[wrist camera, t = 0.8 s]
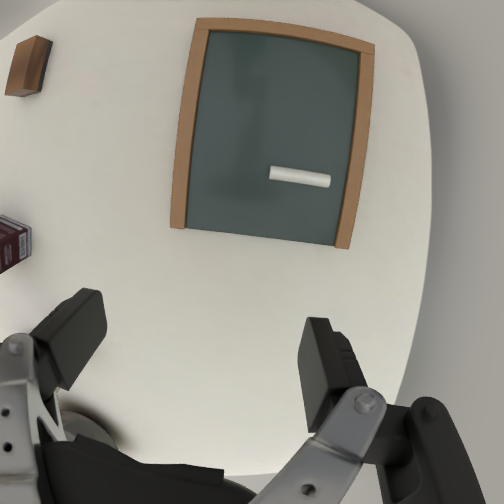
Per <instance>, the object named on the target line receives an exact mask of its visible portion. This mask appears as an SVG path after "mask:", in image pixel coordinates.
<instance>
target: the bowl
mask: <svg viewBox="0 0 504 504" xmlns="http://www.w3.org/2000/svg"><path fill="white" fill-rule="evenodd" d="M60 416H61V421H62V426H63V430H64V434H65V436H66V439H67V441H74V439H75V437H76V435H77V433H79V434H81V435H84V436H86V437H89V438H91V439H94V440H97V441H99V442H102V443H105V444H108V445H110V446H111V447H113V448H115V449H117V450H118V448H117V446H116V444H115V442H114V441H113V439H112V438H111V437H110V436H109V435H108V433H107V432H106V431H105V430H104V429H103V428H102V427H100V426H99V425H98V424H97V423H95V422H94V421H92V420H91V419H89V418H87V417H85V416H83V415H81V414H78V413H76V412H73V411H68V410H60Z"/></svg>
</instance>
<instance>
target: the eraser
mask: <svg viewBox="0 0 504 504" xmlns="http://www.w3.org/2000/svg"><path fill="white" fill-rule="evenodd" d="M52 43H53V42H52V41H50V40H47V39H45V38H43V37H40V36H38V35H36V36H34V37H31V38H29V39H27V40H25V41H23V42H20V43H18V44H17V46H16V49H15V53H14V56H13V60H12V64H11V68H10V72H9V76H8V80H7V85H6V90H5V95H8V96H17V97H24V96H27V95H31V94H34V93H38V92H41V88H42V83H43V78H44V74H45V69H46V65H47V61H48V57H49V53H50V50H51V46H52Z"/></svg>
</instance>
